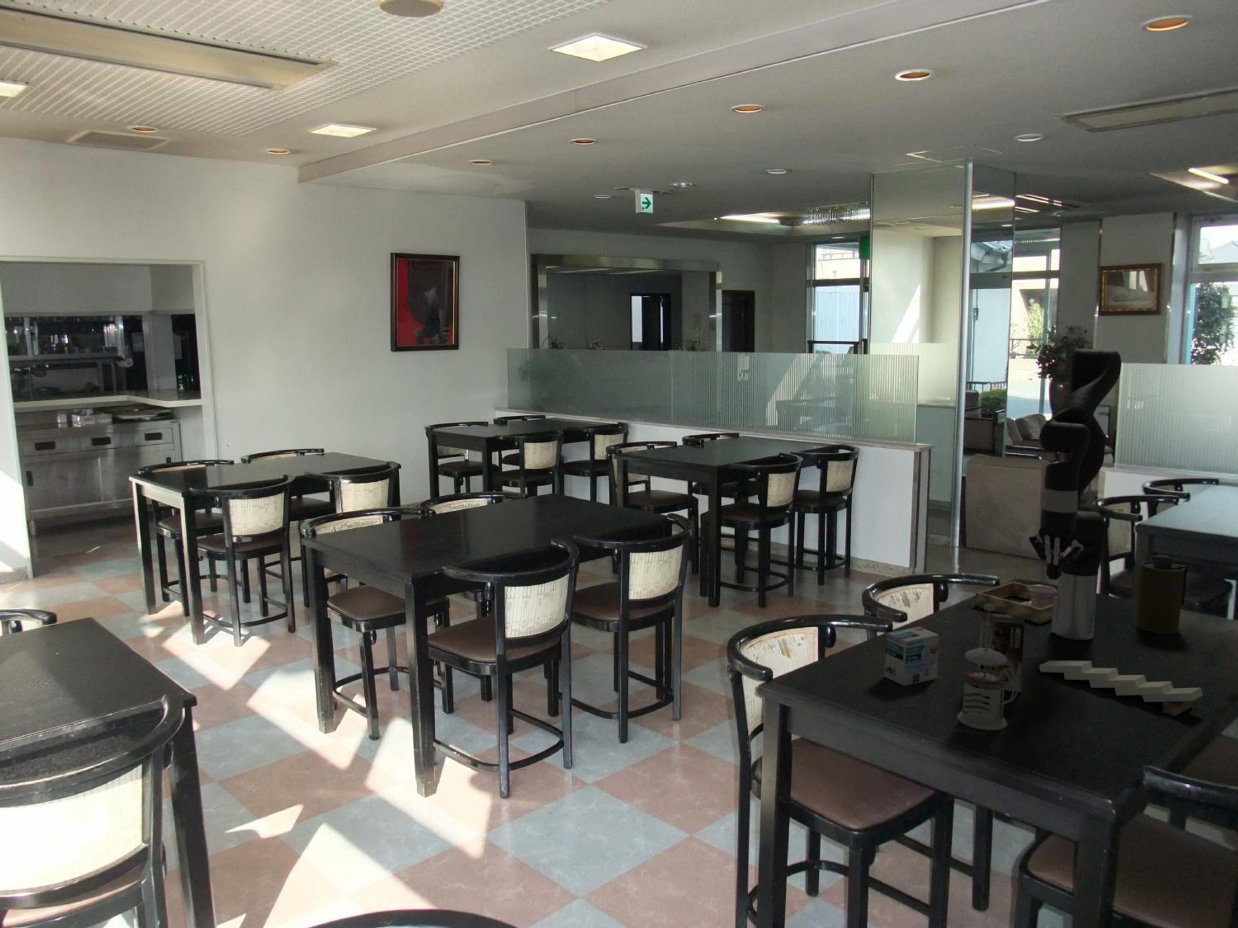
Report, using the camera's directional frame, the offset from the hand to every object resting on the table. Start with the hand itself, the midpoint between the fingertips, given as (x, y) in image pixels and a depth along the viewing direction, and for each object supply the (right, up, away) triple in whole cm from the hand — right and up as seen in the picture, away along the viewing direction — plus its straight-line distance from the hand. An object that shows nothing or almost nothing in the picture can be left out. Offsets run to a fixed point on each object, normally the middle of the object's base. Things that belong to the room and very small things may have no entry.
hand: (1053, 578), depth 220 cm
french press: (-27, -26, -27) cm, 47 cm away
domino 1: (-1, -21, +1) cm, 21 cm away
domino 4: (+9, -23, -12) cm, 28 cm away
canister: (+43, -17, +32) cm, 56 cm away
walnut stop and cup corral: (+15, -19, +19) cm, 31 cm away
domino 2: (+2, -22, -3) cm, 22 cm away
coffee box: (-16, -24, -8) cm, 30 cm away
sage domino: (+13, -23, -17) cm, 32 cm away
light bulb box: (-35, -23, -4) cm, 42 cm away
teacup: (+19, -15, +48) cm, 54 cm away
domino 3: (+6, -22, -8) cm, 25 cm away
